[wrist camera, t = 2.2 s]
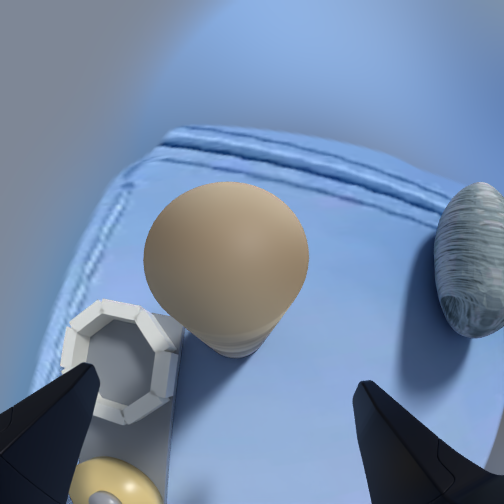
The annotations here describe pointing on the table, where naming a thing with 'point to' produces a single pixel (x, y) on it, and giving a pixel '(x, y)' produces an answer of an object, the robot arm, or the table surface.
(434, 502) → the robot arm
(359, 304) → the table surface
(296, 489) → the table surface
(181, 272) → the peg
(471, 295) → the grey streaked oval stone
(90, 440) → the board
